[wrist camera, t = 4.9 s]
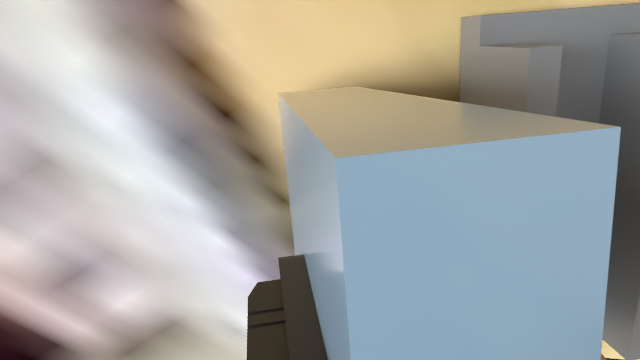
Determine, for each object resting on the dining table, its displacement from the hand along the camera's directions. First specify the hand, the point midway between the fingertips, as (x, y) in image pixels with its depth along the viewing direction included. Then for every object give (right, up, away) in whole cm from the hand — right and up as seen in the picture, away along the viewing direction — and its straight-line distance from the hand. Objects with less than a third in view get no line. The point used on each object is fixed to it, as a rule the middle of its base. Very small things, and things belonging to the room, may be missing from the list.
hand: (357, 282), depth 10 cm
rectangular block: (-1, +1, +5) cm, 5 cm away
